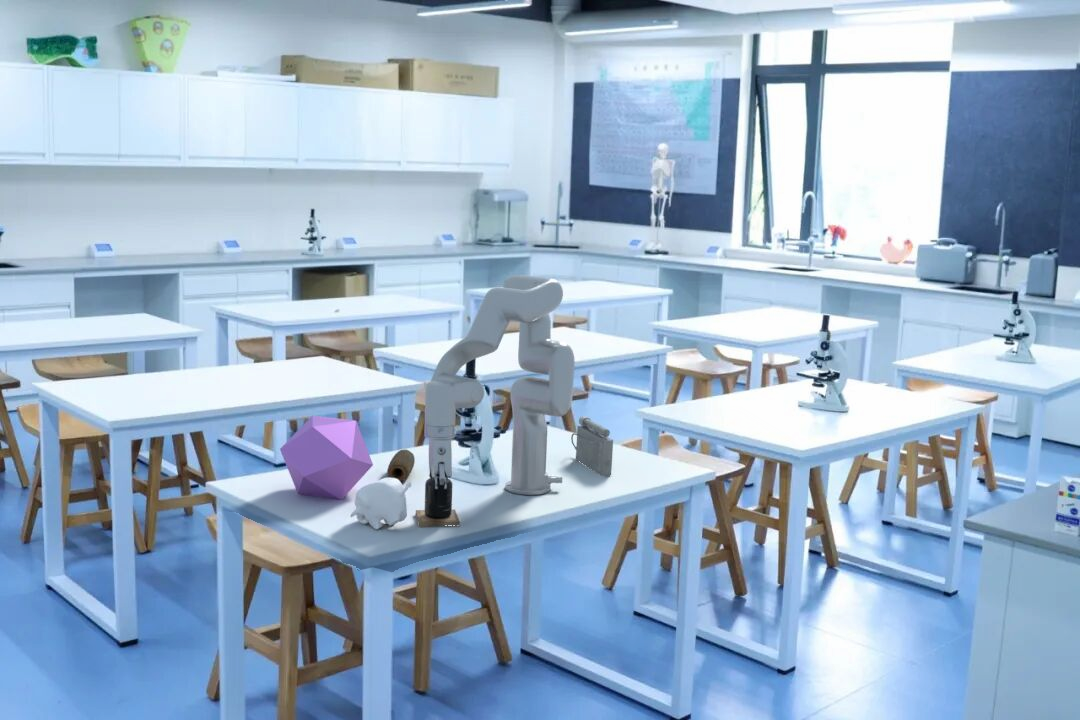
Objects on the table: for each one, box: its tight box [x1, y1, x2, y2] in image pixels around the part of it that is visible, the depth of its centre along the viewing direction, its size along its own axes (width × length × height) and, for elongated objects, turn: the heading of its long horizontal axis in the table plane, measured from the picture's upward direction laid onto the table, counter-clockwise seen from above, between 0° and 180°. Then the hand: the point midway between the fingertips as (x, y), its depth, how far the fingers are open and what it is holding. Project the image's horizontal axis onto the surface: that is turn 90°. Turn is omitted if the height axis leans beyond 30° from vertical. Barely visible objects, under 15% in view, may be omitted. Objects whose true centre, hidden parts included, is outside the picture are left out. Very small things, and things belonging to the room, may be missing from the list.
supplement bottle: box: [424, 467, 453, 519], centre depth 286 cm, size 7×7×12 cm
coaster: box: [415, 508, 461, 528], centre depth 288 cm, size 10×10×1 cm
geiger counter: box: [570, 415, 614, 477], centre depth 345 cm, size 14×6×25 cm
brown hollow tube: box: [386, 449, 416, 482], centre depth 326 cm, size 15×7×7 cm, turn 3°
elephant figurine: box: [349, 477, 412, 530], centre depth 281 cm, size 12×18×12 cm
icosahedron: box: [279, 415, 374, 501], centre depth 306 cm, size 22×21×25 cm
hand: (438, 498), depth 287 cm, fingers open, 7 cm apart
